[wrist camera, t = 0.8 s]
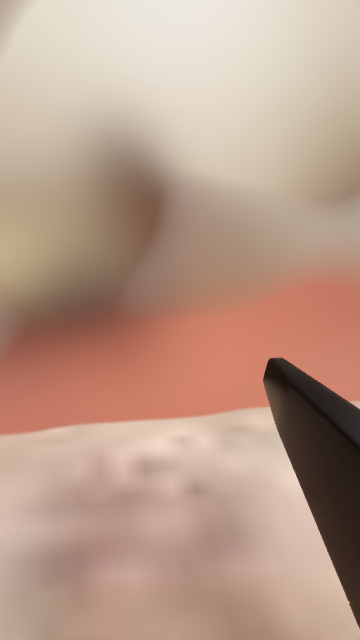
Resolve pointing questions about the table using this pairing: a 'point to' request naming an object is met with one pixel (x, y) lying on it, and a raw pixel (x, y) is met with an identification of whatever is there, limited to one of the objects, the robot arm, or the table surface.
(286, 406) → the robot arm
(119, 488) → the table surface
